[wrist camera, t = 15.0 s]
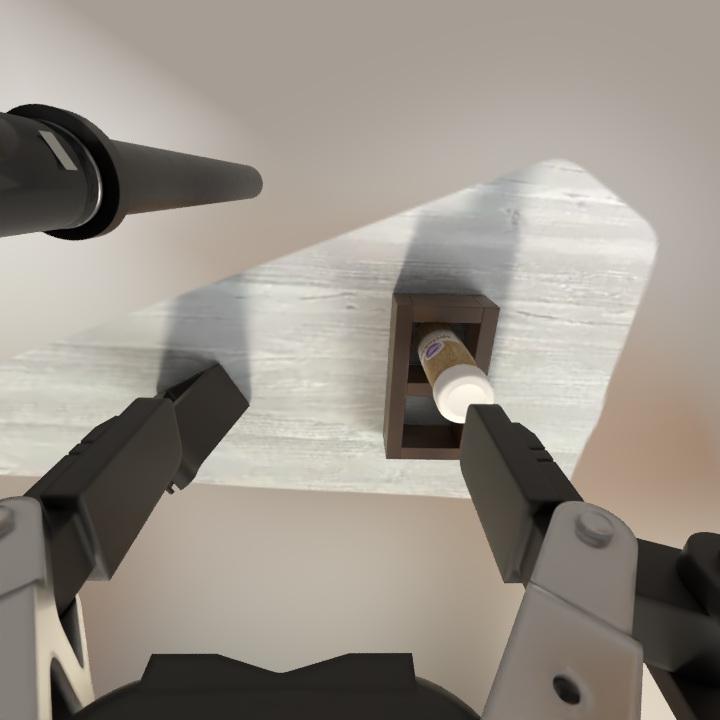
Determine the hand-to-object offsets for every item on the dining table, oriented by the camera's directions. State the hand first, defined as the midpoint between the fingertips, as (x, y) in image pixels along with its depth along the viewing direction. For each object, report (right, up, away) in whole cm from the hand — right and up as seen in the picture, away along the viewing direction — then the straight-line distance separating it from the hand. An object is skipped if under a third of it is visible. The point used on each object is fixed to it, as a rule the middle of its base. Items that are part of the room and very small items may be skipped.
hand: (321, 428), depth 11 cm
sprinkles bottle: (+9, +4, +31) cm, 33 cm away
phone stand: (-17, -3, +34) cm, 38 cm away
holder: (+9, +1, +33) cm, 34 cm away
